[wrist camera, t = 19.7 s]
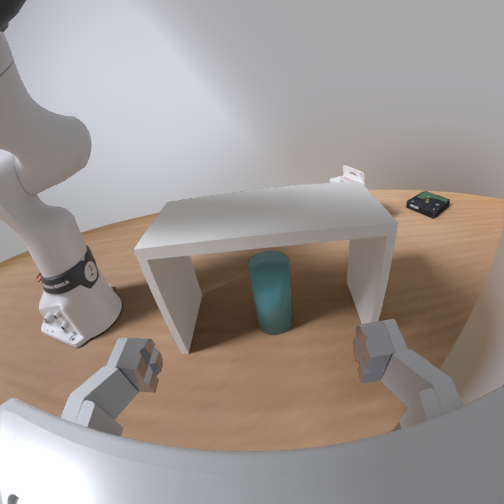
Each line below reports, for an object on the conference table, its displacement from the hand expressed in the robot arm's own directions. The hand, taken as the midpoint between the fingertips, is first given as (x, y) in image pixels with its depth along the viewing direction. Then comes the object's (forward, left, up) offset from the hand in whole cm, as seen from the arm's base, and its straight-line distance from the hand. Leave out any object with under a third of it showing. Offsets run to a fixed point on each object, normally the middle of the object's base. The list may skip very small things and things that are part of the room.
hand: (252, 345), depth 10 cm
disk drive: (+51, +62, -26) cm, 84 cm away
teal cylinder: (0, +24, -25) cm, 35 cm away
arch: (0, +25, -25) cm, 35 cm away
